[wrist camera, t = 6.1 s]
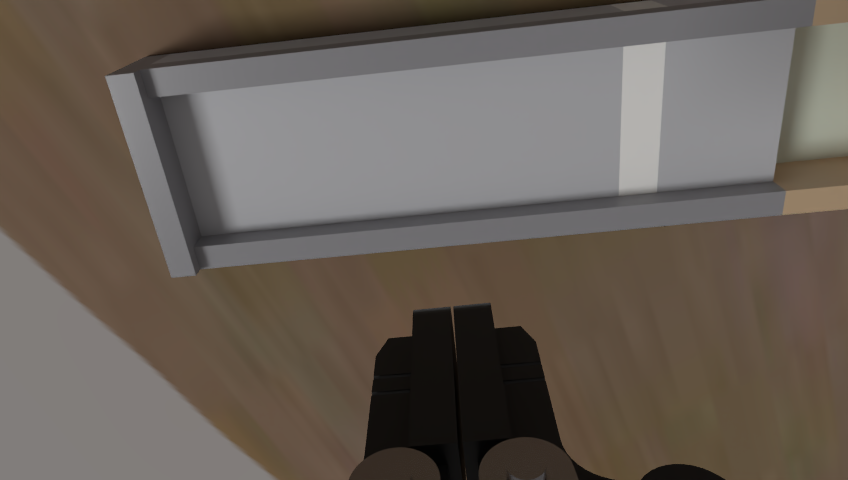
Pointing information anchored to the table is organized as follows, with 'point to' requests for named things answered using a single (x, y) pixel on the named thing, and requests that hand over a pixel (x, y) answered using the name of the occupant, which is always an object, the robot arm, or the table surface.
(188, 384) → the table surface
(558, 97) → the lane
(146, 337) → the table surface
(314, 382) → the table surface
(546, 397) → the robot arm
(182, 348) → the table surface
